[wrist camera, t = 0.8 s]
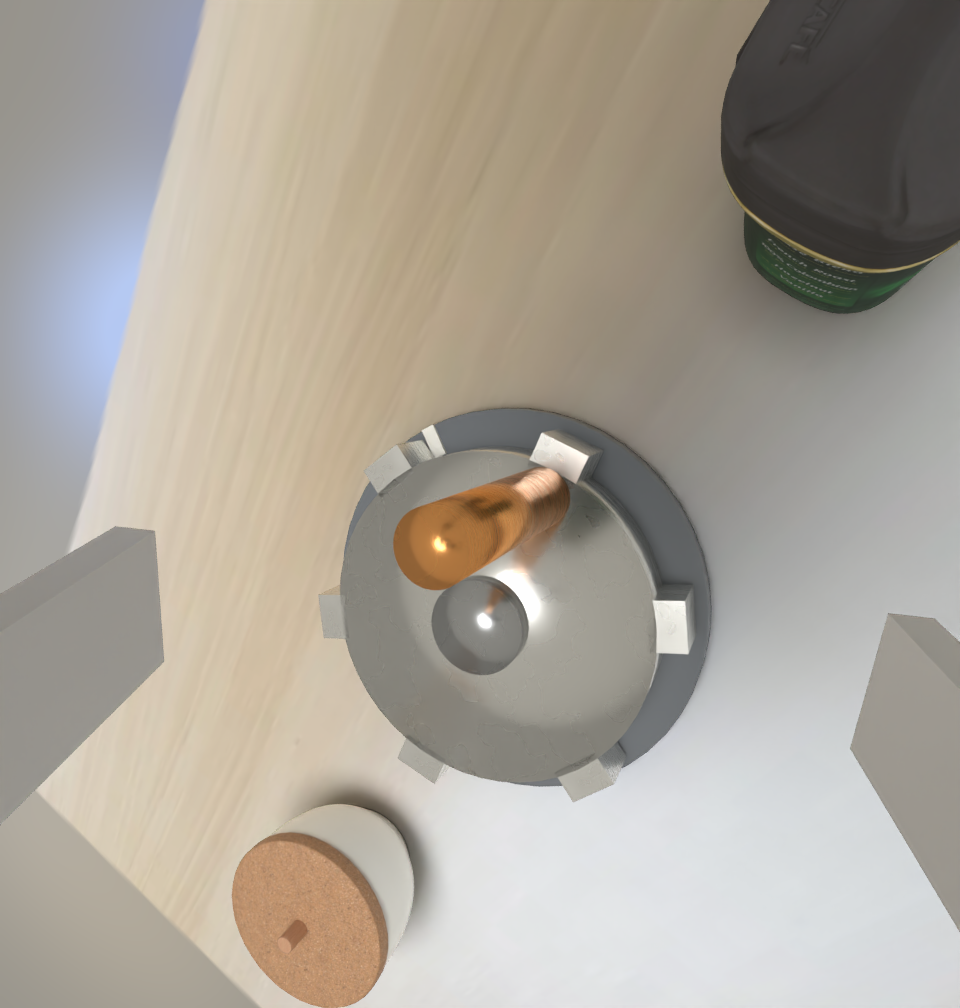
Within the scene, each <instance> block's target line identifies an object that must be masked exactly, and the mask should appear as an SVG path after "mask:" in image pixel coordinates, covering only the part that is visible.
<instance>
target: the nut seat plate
mask: <svg viewBox="0 0 960 1008" xmlns="http://www.w3.org/2000/svg"><path fill="white" fill-rule="evenodd" d="M557 429H561V430H563V431H565V432H567V433H569V434H571V435H573V436H575V437H577V438H579V439H581V440H583V441H585V442H587V443H589V444H591V445H593V446H595V447H597V448H599V449H601V450H603V453H602V455H601V457H600V459H599V462H598V464H597V466H596V468H595V470H594V472H593V474H592V476H591V477H593V478H594V479H595V480H597V481H598V482H599V483H600V484H602V485H603V486H604V487H606V488H607V489H608V490H609V491H610V492H611V493H612V494H613V495H614V496H615V497H616V498H617V499H618V500H619V501H620V502H621V503H622V504H623V505H624V507H625V508H626V509H627V511H628V512H629V513H630V515H631V516H632V517H633V518H634V520H635V521H636V522H637V524H638V526H639V527H640V529H641V531H642V532H643V534H644V536H645V538H646V539H647V541H648V543H649V545H650V547H651V550H652V552H653V554H654V557H655V559H656V562H657V564H658V567H659V571H660V575H661V578H662V582H663V584H693V587H694V604H695V621H696V636H695V639H694V641H693V644H692V646H691V649H690V651H689V654H670V653H663V656H662V659H661V662H660V666H659V669H658V672H657V674H656V677H655V679H654V681H653V683H652V685H651V687H650V689H649V692H648V694H647V696H646V698H645V700H644V702H643V704H642V706H641V709H640V711H639V713H638V715H637V716H636V718H635V719H634V721H633V722H632V724H631V725H630V727H629V728H628V730H627V731H626V732H625V733H624V735H623V736H622V737H621V738H620V739H619V740H618V741H617V742H618V744H619V745H620V747H621V748H622V750H623V752H624V753H625V755H626V759H625V761H624V763H623V765H622V767H621V768H623V767H625V766H627V765H629V764H630V763H632V762H633V761H635V760H636V759H638V758H639V757H640V756H642V755H643V754H645V753H646V752H648V751H649V750H650V749H651V748H652V747H653V746H654V745H655V744H656V743H657V742H658V741H659V740H660V739H661V738H663V737H664V736H665V735H666V733H667V732H668V731H669V729H670V728H671V727H672V726H673V724H674V723H675V722H676V720H677V719H678V718H679V716H680V715H681V713H682V711H683V710H684V708H685V706H686V704H687V702H688V701H689V699H690V697H691V695H692V693H693V690H694V688H695V685H696V682H697V680H698V677H699V674H700V671H701V669H702V666H703V662H704V659H705V655H706V650H707V645H708V640H709V635H710V621H711V600H710V587H709V579H708V575H707V570H706V566H705V561H704V557H703V554H702V551H701V548H700V546H699V543H698V540H697V537H696V535H695V532H694V529H693V528H692V526H691V524H690V522H689V520H688V518H687V516H686V514H685V512H684V510H683V509H682V507H681V505H680V504H679V502H678V501H677V499H676V498H675V496H674V495H673V494H672V492H671V491H670V489H669V488H668V487H667V485H666V484H665V482H664V481H663V480H662V479H661V478H660V477H659V476H658V475H657V474H656V473H655V472H654V471H653V469H652V468H651V467H650V466H649V465H648V464H647V463H646V462H645V461H644V460H642V459H641V458H640V457H639V456H638V455H636V454H635V453H634V452H633V451H632V450H630V449H629V448H628V447H627V446H626V445H624V444H622V443H621V442H619V441H618V440H616V439H615V438H613V437H611V436H610V435H608V434H607V433H605V432H604V431H602V430H599V429H597V428H595V427H593V426H591V425H589V424H586V423H584V422H582V421H580V420H577V419H574V418H571V417H567V416H564V415H561V414H558V413H554V412H548V411H542V410H535V409H523V408H503V409H494V410H485V411H477V412H471V413H467V414H463V415H460V416H456V417H452V418H449V419H447V420H444V421H442V422H440V423H437V424H435V425H434V424H433V425H431V426H429V427H427V428H425V429H423V430H422V432H420V433H419V434H417V435H415V436H414V437H412V438H411V439H409V440H408V441H407V442H406V443H408V442H414V441H419V440H423V441H424V443H425V444H426V446H427V447H428V449H429V450H430V452H431V453H432V455H433V457H434V458H437V457H440V456H444V455H447V454H452V453H456V452H461V451H465V450H470V449H476V448H483V447H517V448H524V449H531V450H534V449H535V447H536V444H537V442H538V440H539V438H540V435H541V433H543V432H547V431H552V430H557ZM377 494H378V493H377V491H376V490H375V488H374V486H373V485H372V483H371V482H369V484H368V485H367V487H366V488H365V490H364V492H363V494H362V496H361V498H360V501H359V503H358V505H357V507H356V509H355V512H354V515H353V518H352V521H351V524H350V527H349V531H348V536H347V540H346V545H345V551H344V557H345V554H346V550H347V547H348V544H349V540H350V538H351V536H352V534H353V531H354V529H355V527H356V525H357V522H358V521H359V519H360V518H361V516H362V514H363V513H364V511H365V510H366V508H367V506H368V505H369V504H370V503H371V502H372V500H373V499H374V498H375V497H376V496H377ZM510 783H514V784H520V785H530V786H563V785H562V784H561V782H560V781H559V779H558V777H556V778H552V779H547V780H543V781H535V782H522V783H518V782H510Z"/></svg>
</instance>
